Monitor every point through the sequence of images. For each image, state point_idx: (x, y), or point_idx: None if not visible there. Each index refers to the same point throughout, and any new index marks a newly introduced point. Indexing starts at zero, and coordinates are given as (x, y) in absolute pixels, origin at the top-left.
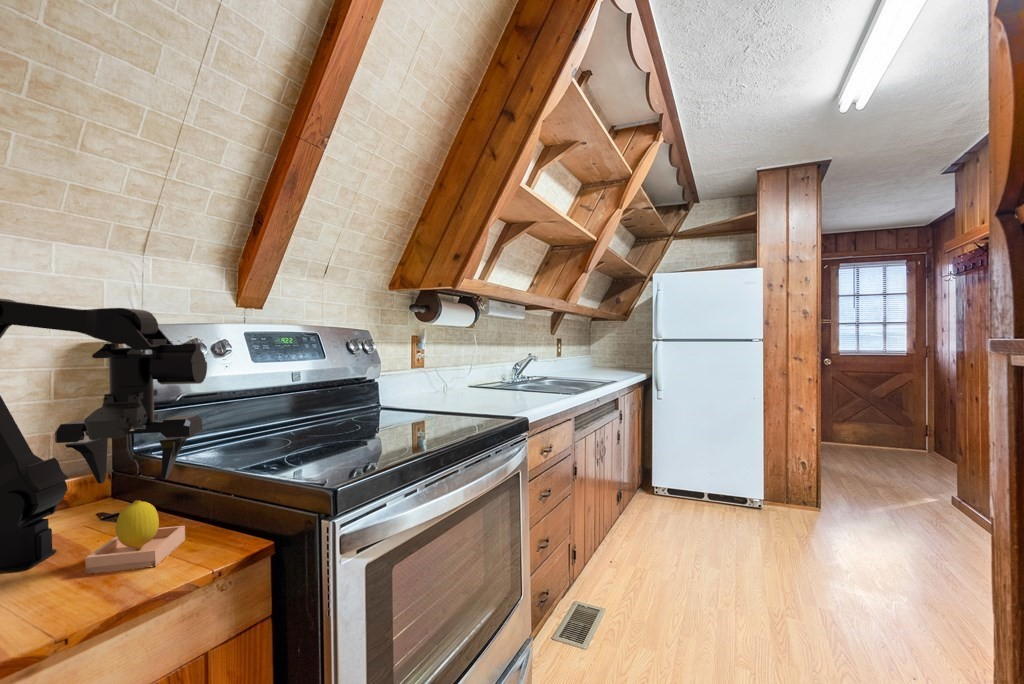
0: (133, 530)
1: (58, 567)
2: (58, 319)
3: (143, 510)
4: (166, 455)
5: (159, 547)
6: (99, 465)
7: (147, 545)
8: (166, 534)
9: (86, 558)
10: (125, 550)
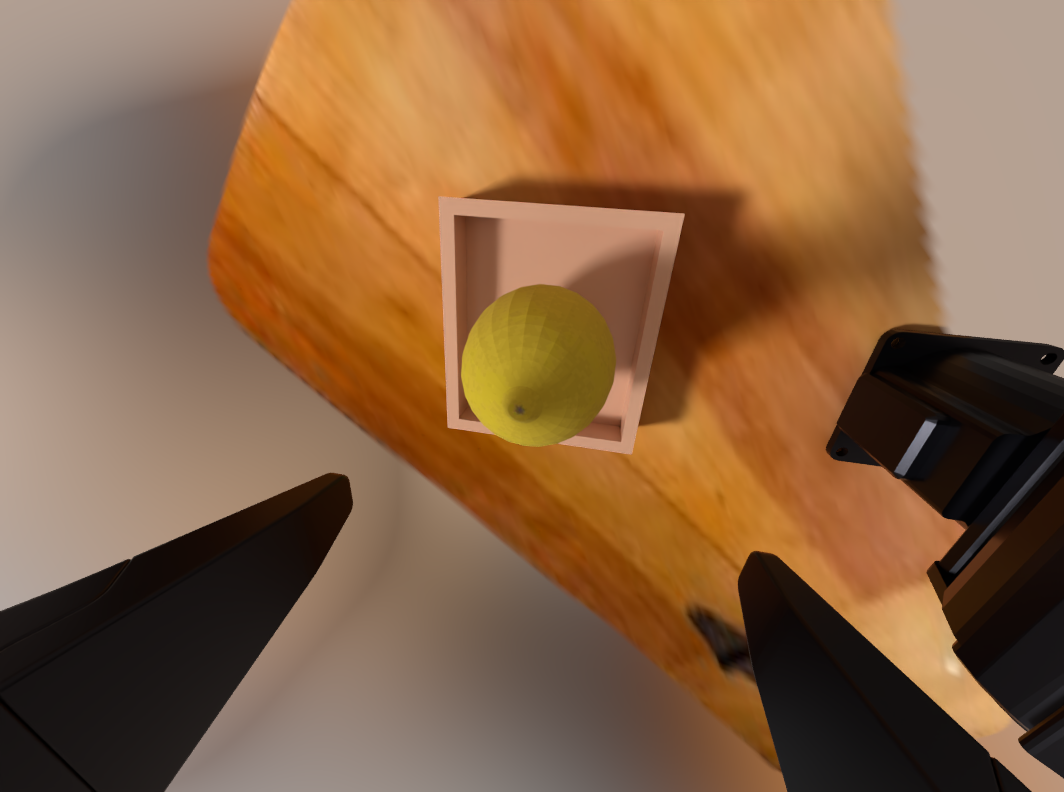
0: (527, 288)
1: (785, 319)
2: None
3: (481, 344)
4: (67, 608)
5: (440, 233)
6: (840, 728)
7: None
8: None
9: (680, 215)
10: None
